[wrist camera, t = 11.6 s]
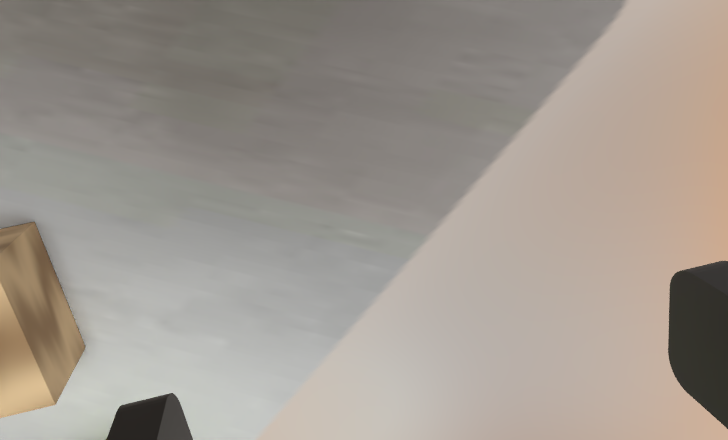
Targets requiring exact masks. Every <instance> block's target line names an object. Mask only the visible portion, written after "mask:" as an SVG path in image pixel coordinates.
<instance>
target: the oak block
mask: <svg viewBox="0 0 728 440" xmlns="http://www.w3.org/2000/svg"><path fill="white" fill-rule="evenodd" d="M84 349H85V345H84V342H83V340H82V337H81V335H80V332H79V330H78V328H77V325H76V323H75V320H74V318H73V315H72V313H71V310H70V308H69V305H68V303H67V301H66V298H65V296H64V293H63V291H62V288H61V286H60V283H59V281H58V278H57V276H56V274H55V271H54V269H53V266H52V264H51V261H50V259H49V256H48V254H47V251H46V249H45V247H44V244H43V242H42V239H41V237H40V234H39V232H38V229H37V227H36V224H35V222H31V223H26V224H22V225H17V226H12V227H8V228H3V229H0V418H2V417H6V416H11V415H15V414H19V413H23V412H27V411H31V410H35V409H40V408H44V407H48V406H52V405H55V404H56V403H57V401H58V399H59V397H60V395H61V393H62V391H63V389H64V387H65V385H66V384H67V382H68V380H69V378H70V376H71V374H72V372H73V370H74V368H75V366H76V365H77V363H78V361H79V359H80V357H81V355H82V353H83V351H84Z"/></svg>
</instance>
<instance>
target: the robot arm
mask: <svg viewBox="0 0 728 440" xmlns="http://www.w3.org/2000/svg"><path fill="white" fill-rule="evenodd" d="M668 353H669V360H670V364H671V367H672V370H673V372H674V375H675V377H676V378H677V380H678V382H679V383H680V385H681V386H682V387H683V389H684V390H685V391H686V392H687V393H688V394H690V395H691V396H692V397H693V398H694V399H695V400H696V401H697V402H698V403H700V404H701V405H702V406H703V407H704V408H705V409H706V410H707V411H709V412H710V413H711V414H712V415H713V416H714V417H715V418H716V419H717V420H719V421H720V422H721V423H722V424H723V425H724V426H725V427H726V428H727V429H728V261H719V262H715V263H711V264H707V265H703V266H699V267H695V268H691V269H686V270H682V271H679V272H677V273H675V275H674V276H673V277H672V279H671V283H670V307H669V348H668ZM107 440H193V438H192V436H191V433H190V430H189V427H188V424H187V421H186V419H185V416H184V413H183V410H182V407H181V405H180V402H179V400H178V398H177V397H176V396H175V395H174V394H173V393H170V394H166V395H162V396H158V397H154V398H150V399H146V400H142V401H137V402H133V403H129V404H125V405H122V406H120V407H119V409H118V410H117V413H116V415H115V418H114V421H113V424H112V426H111V429H110V432H109V435H108V437H107Z"/></svg>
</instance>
